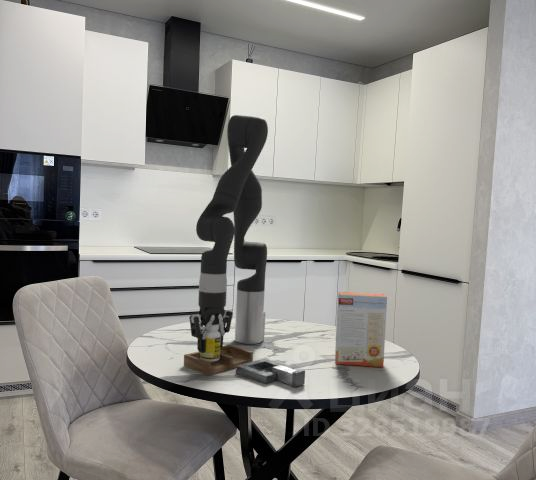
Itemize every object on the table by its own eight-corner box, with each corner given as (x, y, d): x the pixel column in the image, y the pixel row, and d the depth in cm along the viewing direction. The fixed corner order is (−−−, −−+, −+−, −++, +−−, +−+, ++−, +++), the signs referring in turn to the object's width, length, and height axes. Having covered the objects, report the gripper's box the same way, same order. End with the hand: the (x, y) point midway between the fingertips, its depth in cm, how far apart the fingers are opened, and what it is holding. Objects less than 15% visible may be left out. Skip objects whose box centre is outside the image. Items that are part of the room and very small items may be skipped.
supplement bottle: (216, 363, 135) (217, 327, 134) (197, 361, 136) (198, 325, 135) (222, 357, 140) (223, 322, 140) (203, 355, 141) (205, 321, 141)
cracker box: (381, 362, 151) (385, 293, 150) (383, 368, 146) (388, 296, 144) (334, 358, 153) (338, 290, 152) (334, 364, 147) (338, 293, 146)
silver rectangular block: (280, 375, 134) (281, 362, 134) (304, 384, 128) (305, 370, 128) (271, 378, 131) (271, 365, 131) (295, 387, 126) (296, 373, 125)
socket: (263, 365, 143) (264, 358, 143) (293, 375, 136) (293, 367, 135) (235, 373, 135) (236, 365, 135) (265, 384, 127) (266, 376, 127)
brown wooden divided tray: (228, 355, 151) (229, 344, 151) (252, 362, 145) (253, 352, 144) (183, 366, 139) (184, 354, 139) (207, 375, 132) (207, 363, 132)
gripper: (201, 293, 129) (198, 358, 130) (241, 289, 140) (238, 348, 141) (183, 289, 134) (180, 351, 135) (222, 285, 145) (220, 343, 146)
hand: (210, 350), depth 138 cm, fingers closed on supplement bottle, 5 cm apart
